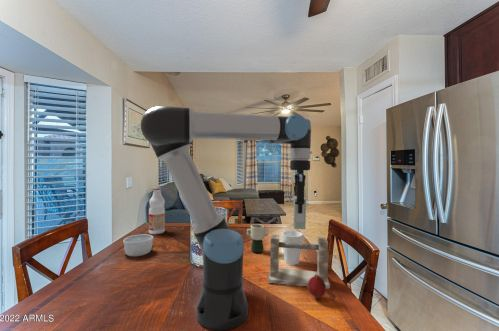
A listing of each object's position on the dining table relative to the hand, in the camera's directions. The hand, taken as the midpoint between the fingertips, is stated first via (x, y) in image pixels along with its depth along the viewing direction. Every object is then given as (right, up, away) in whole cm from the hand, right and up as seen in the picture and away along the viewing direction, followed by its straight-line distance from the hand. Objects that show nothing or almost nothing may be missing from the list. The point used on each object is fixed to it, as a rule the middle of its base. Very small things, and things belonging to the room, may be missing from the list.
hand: (299, 219), depth 92 cm
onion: (+3, -24, -12) cm, 27 cm away
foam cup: (0, -23, +16) cm, 29 cm away
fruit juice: (-77, -22, +58) cm, 99 cm away
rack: (0, -23, 0) cm, 23 cm away
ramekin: (-74, -22, +25) cm, 81 cm away
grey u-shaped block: (0, -3, 0) cm, 3 cm away
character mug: (-15, -23, +29) cm, 40 cm away
